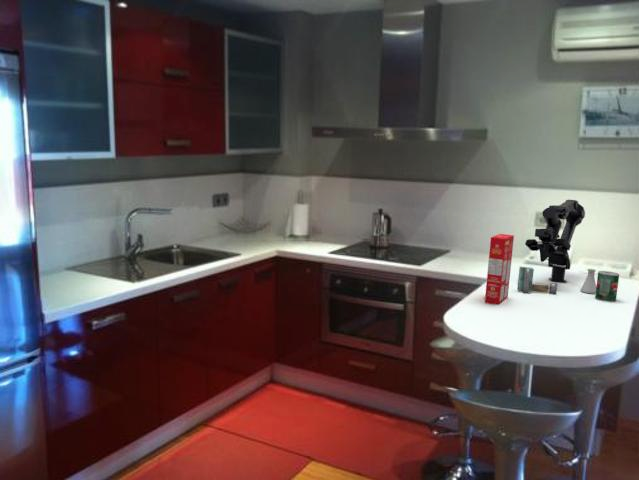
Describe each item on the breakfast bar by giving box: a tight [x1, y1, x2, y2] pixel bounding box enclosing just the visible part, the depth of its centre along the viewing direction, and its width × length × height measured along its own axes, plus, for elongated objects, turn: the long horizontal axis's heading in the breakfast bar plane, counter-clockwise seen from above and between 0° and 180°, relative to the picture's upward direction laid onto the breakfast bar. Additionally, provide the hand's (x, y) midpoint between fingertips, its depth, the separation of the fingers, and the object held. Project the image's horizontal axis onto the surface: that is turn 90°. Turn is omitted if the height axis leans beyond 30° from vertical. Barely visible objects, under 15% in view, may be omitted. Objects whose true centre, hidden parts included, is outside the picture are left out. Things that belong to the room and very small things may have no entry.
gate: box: [516, 266, 550, 294], centre depth 250 cm, size 12×4×10 cm, turn 83°
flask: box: [579, 268, 597, 295], centre depth 255 cm, size 7×7×10 cm
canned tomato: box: [594, 270, 620, 303], centre depth 243 cm, size 8×8×11 cm
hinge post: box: [548, 283, 558, 295], centre depth 249 cm, size 3×3×4 cm
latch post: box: [522, 269, 531, 295], centre depth 247 cm, size 2×2×10 cm
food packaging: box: [484, 233, 515, 305], centre depth 231 cm, size 15×5×25 cm, turn 150°
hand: (541, 261), depth 257 cm, fingers closed
